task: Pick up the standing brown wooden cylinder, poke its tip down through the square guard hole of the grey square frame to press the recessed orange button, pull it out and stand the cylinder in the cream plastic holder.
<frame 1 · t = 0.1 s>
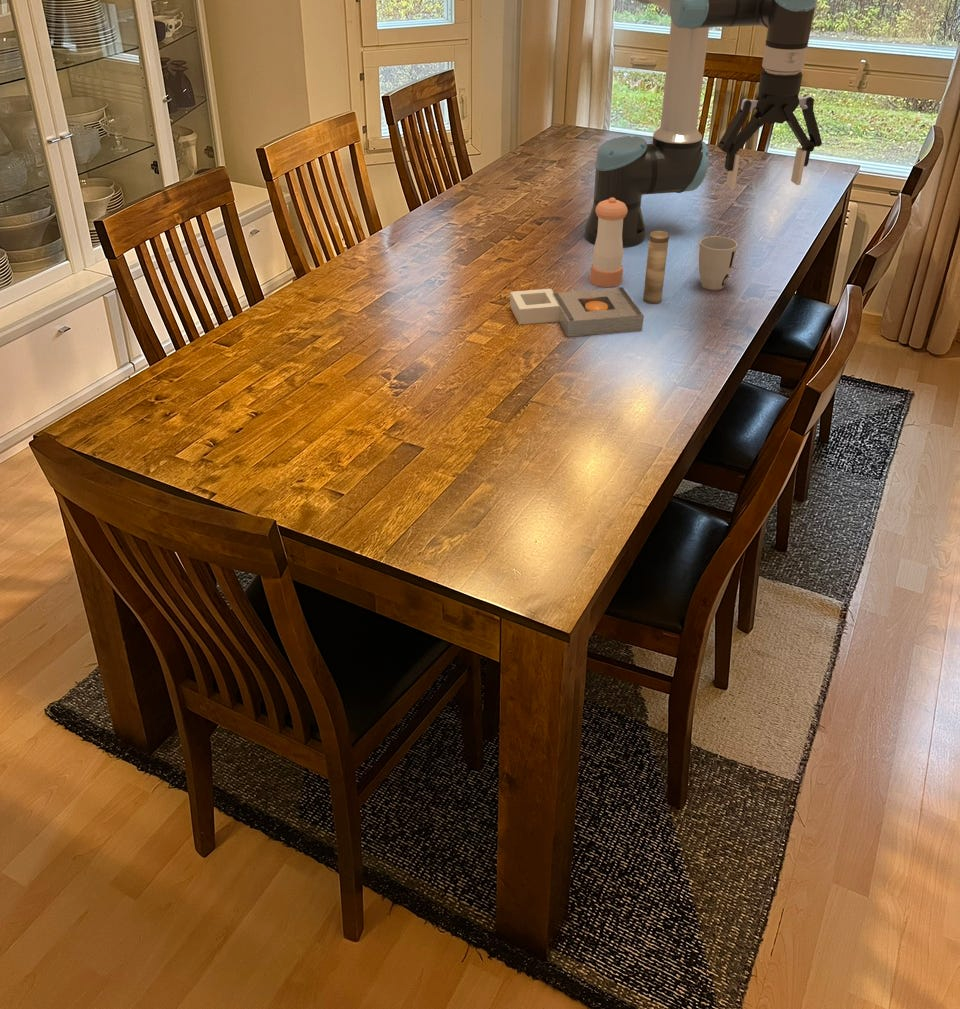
hand: (763, 185, 197), 28 cm above the table, fingers open, 13 cm apart
cup: (712, 286, 226), on the table
salt shaker: (605, 281, 228), on the table
grey square frame: (595, 319, 212), on the table
brown wooden cylinder: (652, 300, 220), on the table
holder: (535, 313, 214), on the table
button: (596, 307, 210), point 3 cm above the table, slide at 0.0 cm
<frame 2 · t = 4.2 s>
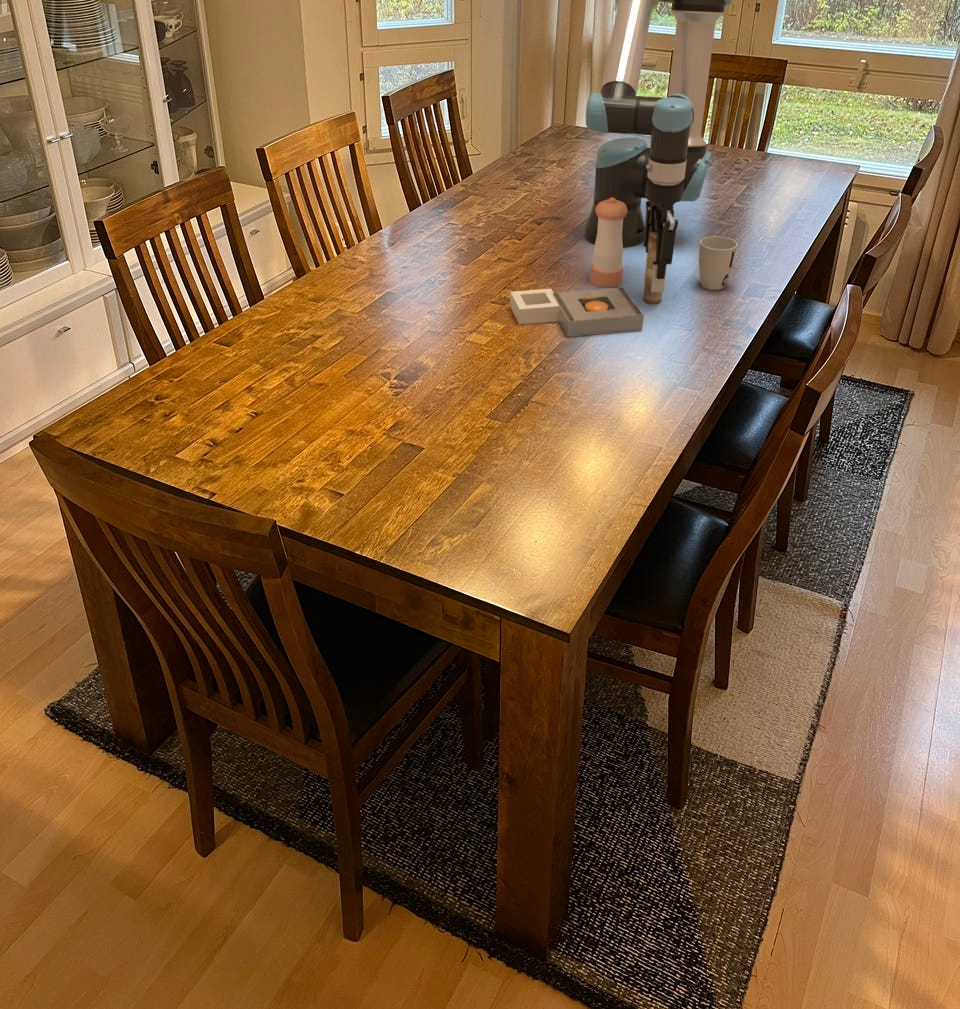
hand: (653, 286, 218), 3 cm above the table, fingers closed on brown wooden cylinder, 4 cm apart
brown wooden cylinder: (652, 300, 220), on the table, touching gripper
everything else where it was.
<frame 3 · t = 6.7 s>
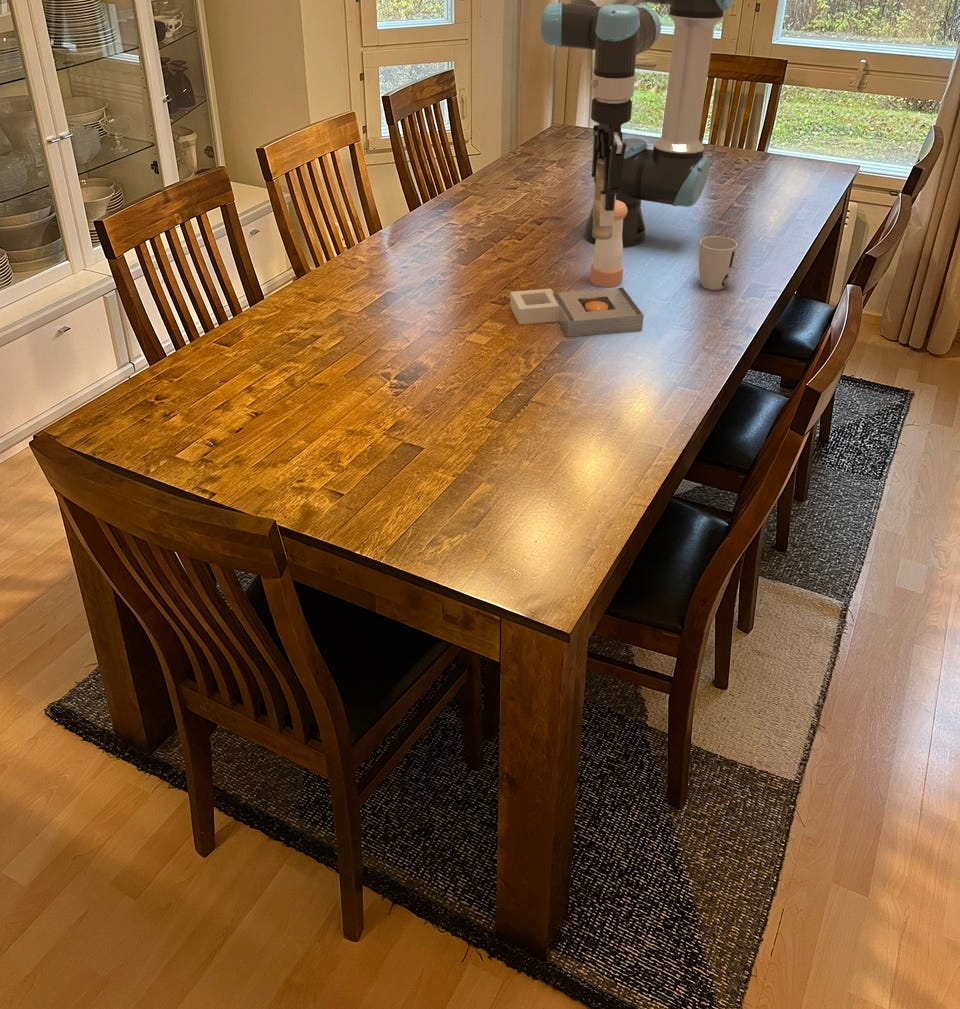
hand: (603, 220, 199), 21 cm above the table, fingers closed on brown wooden cylinder, 4 cm apart
brown wooden cylinder: (601, 236, 201), point 18 cm above the table, touching gripper
everything else where it was.
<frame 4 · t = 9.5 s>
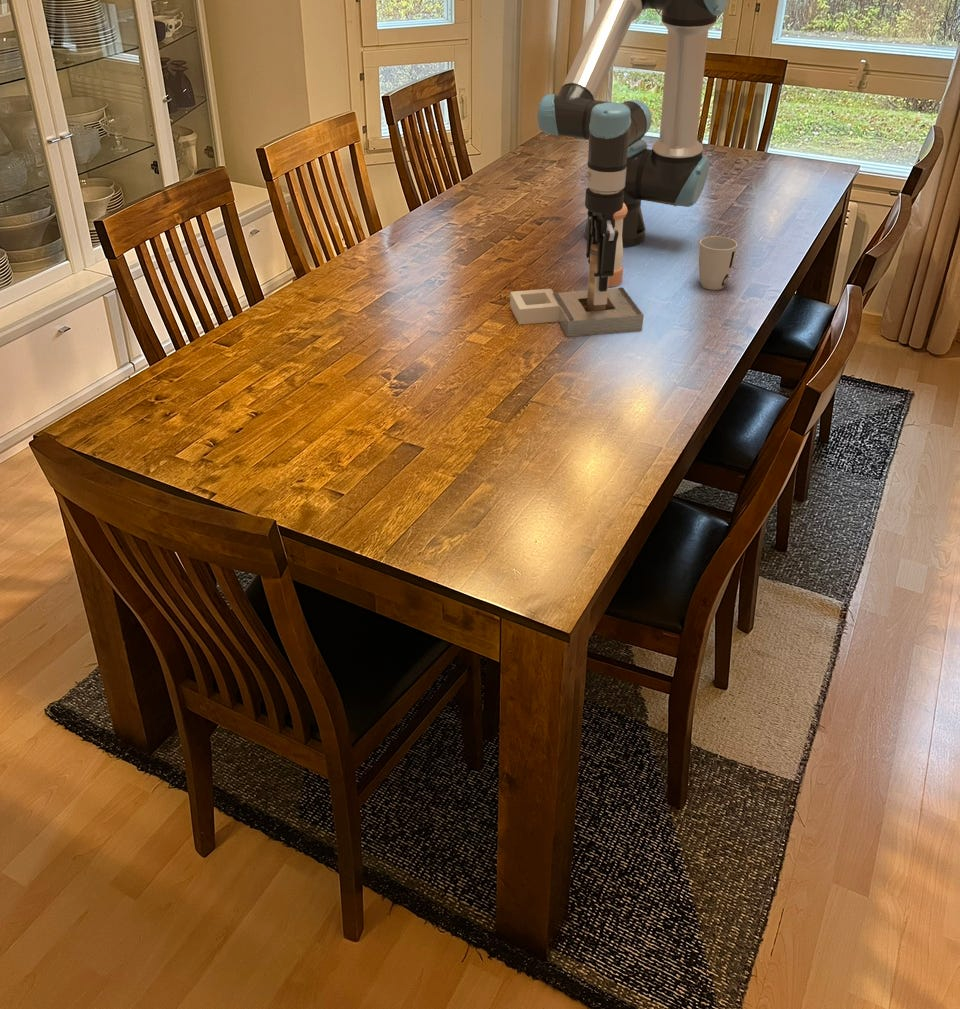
hand: (596, 299, 209), 5 cm above the table, fingers closed on brown wooden cylinder, 4 cm apart
brown wooden cylinder: (595, 314, 211), point 1 cm above the table, touching button, gripper
button: (595, 316, 211), point 1 cm above the table, slide at 2.1 cm, touching brown wooden cylinder
everything else where it was.
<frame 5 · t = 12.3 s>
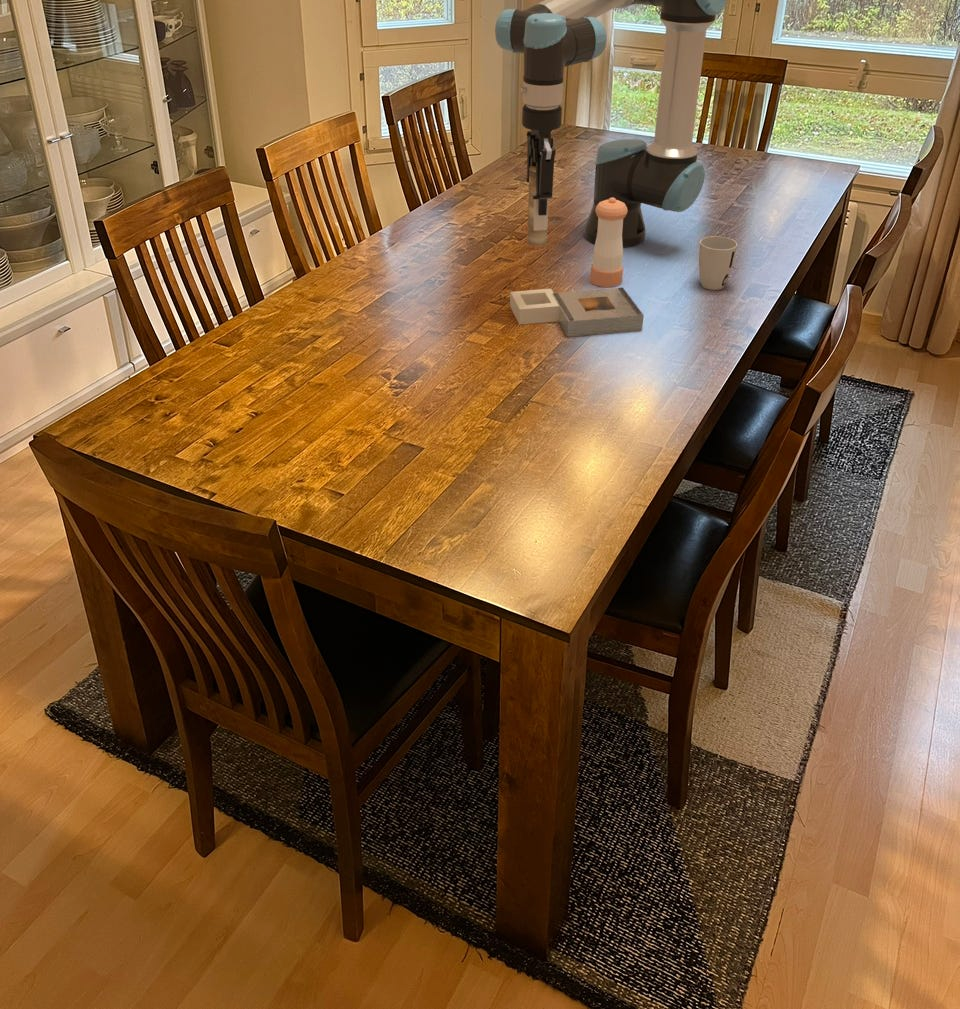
hand: (537, 225, 202), 20 cm above the table, fingers closed on brown wooden cylinder, 4 cm apart
brown wooden cylinder: (536, 242, 204), point 16 cm above the table, touching gripper
button: (595, 316, 211), point 1 cm above the table, slide at 2.1 cm
everything else where it was.
when the fingers open (5 cm above the table, at t = 14.6 s): brown wooden cylinder stays where it is, resting in holder.
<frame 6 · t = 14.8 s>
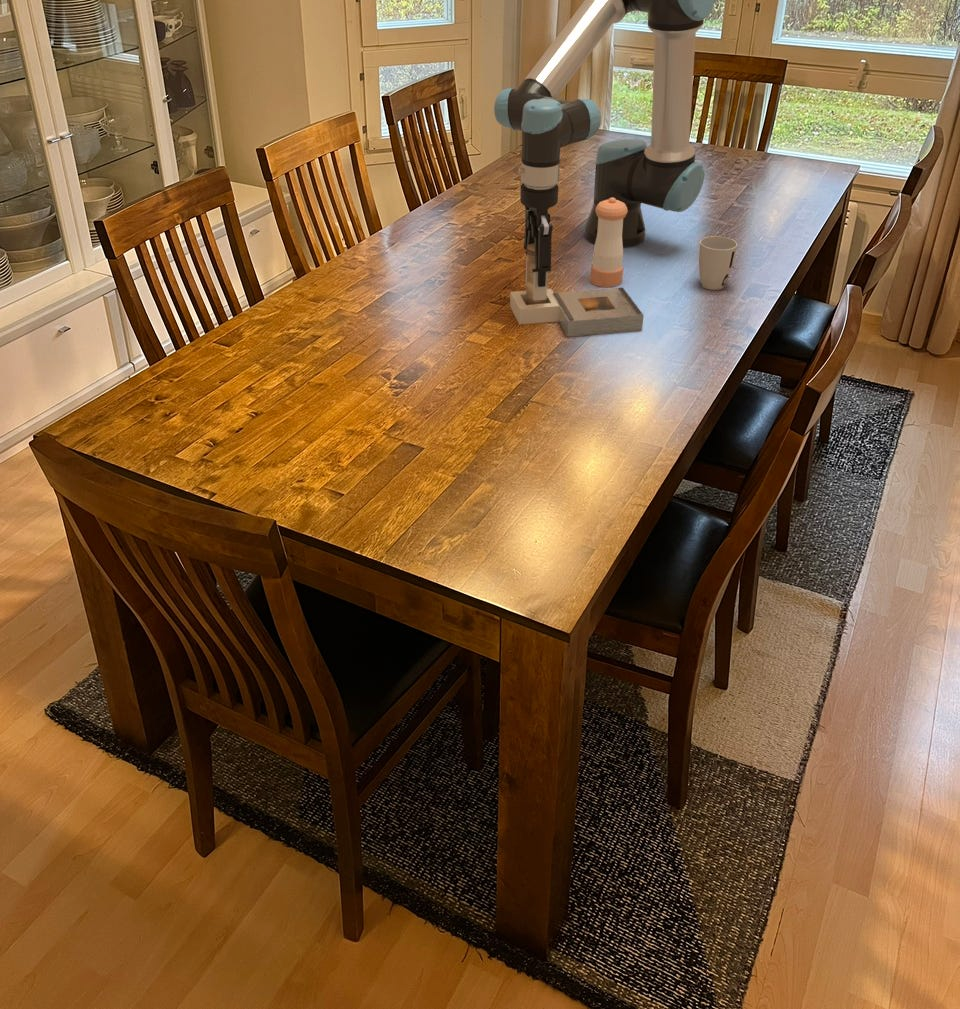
hand: (535, 292, 211), 5 cm above the table, fingers open, 6 cm apart
brown wooden cylinder: (534, 313, 214), resting in holder
everything else where it was.
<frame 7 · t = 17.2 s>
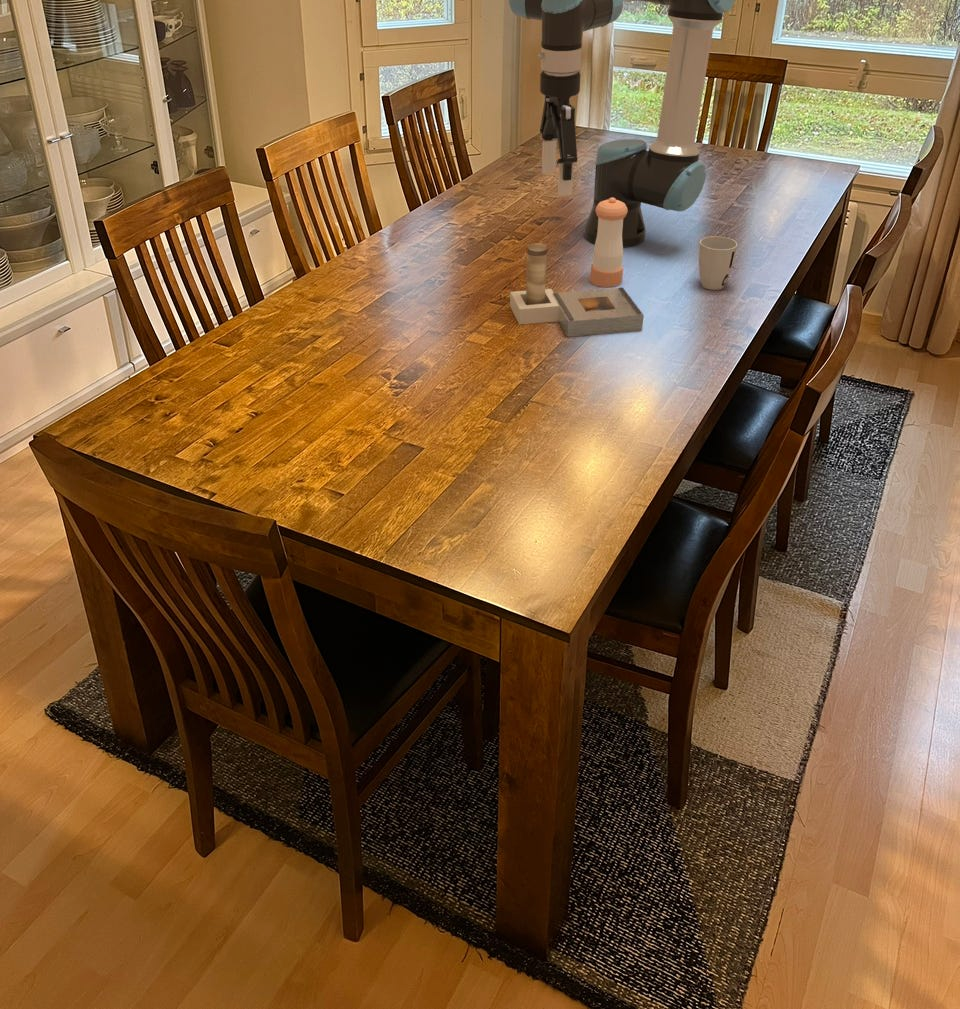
hand: (556, 184, 199), 27 cm above the table, fingers open, 13 cm apart
nothing on the table moved.
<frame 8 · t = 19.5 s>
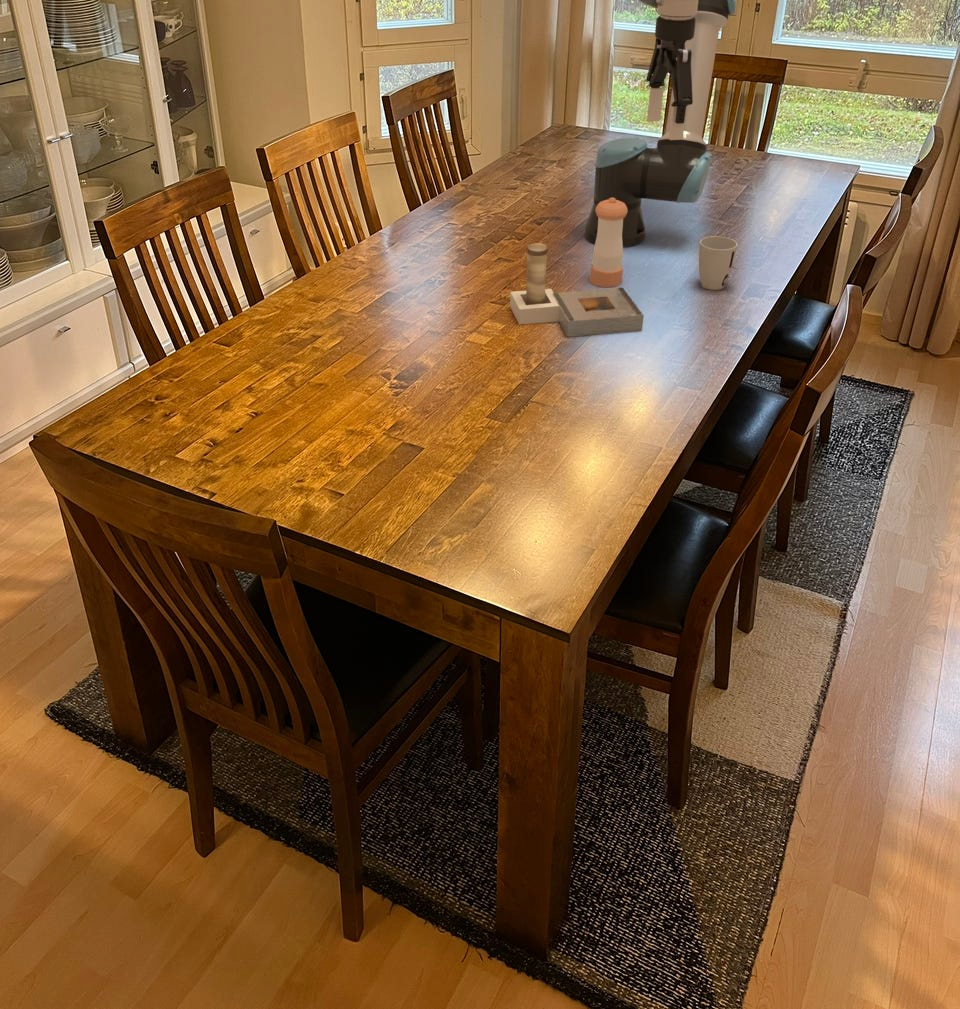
hand: (664, 130, 204), 35 cm above the table, fingers open, 13 cm apart
nothing on the table moved.
at the end: button slide at 2.1 cm; brown wooden cylinder 0.0 cm off-centre on the holder, point 0.0 cm above the holder's base; brown wooden cylinder tilted 0° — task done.
